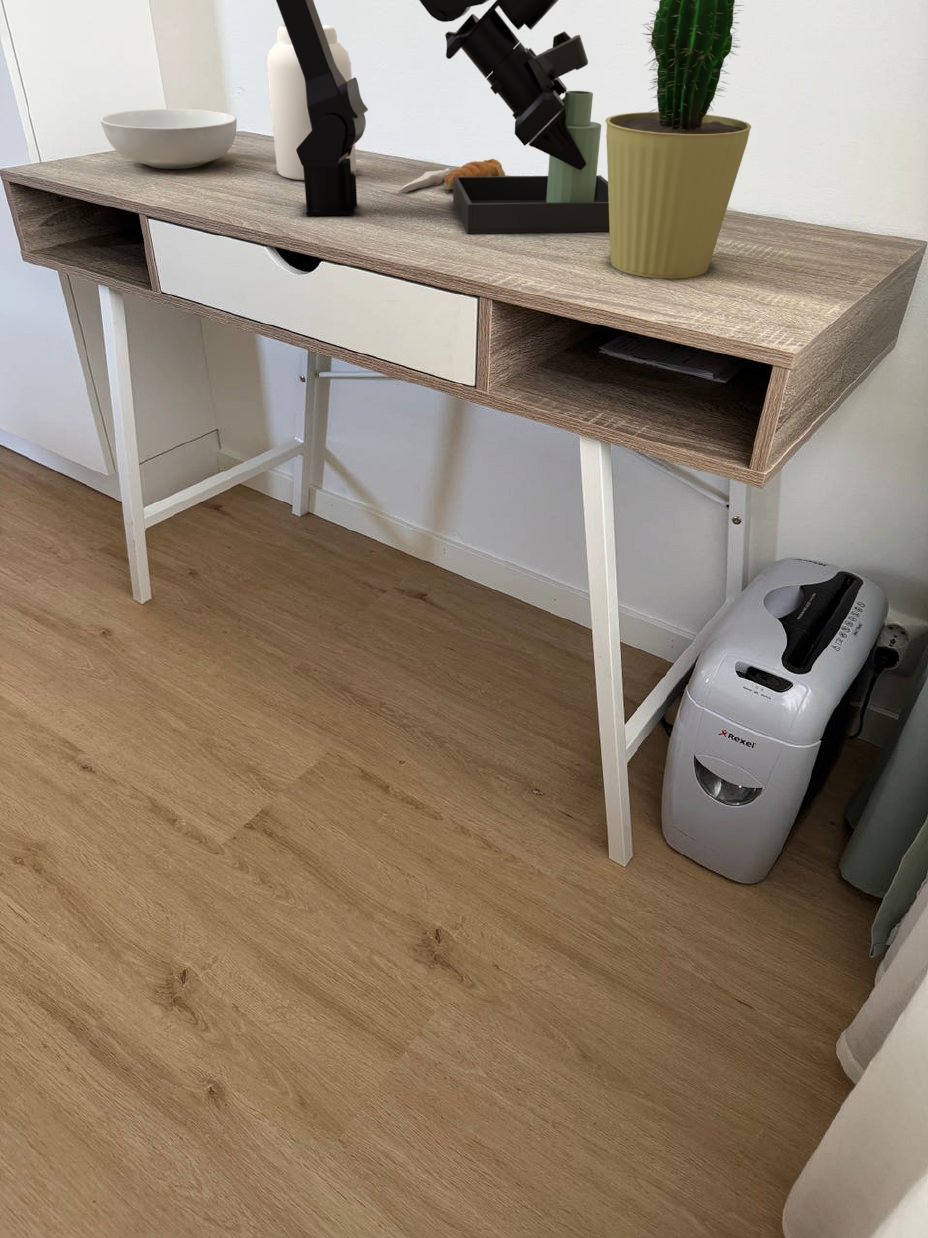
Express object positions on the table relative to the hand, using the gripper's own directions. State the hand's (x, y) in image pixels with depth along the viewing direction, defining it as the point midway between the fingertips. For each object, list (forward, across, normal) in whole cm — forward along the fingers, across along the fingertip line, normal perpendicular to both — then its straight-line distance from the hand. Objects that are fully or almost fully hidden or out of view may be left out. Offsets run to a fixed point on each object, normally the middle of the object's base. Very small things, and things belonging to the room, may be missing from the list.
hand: (583, 162), depth 120 cm
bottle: (+4, 0, +6) cm, 7 cm away
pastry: (-6, +18, +16) cm, 25 cm away
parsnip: (-11, +19, +22) cm, 31 cm away
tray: (+1, +2, +9) cm, 9 cm away
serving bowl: (-41, +28, +52) cm, 72 cm away
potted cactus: (+12, -20, -2) cm, 23 cm away
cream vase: (-24, +24, +35) cm, 49 cm away
